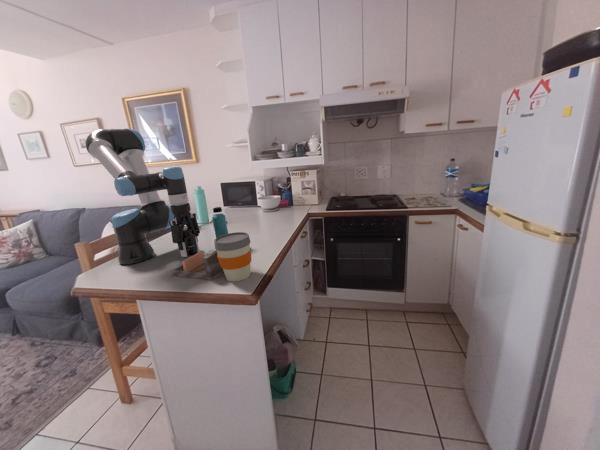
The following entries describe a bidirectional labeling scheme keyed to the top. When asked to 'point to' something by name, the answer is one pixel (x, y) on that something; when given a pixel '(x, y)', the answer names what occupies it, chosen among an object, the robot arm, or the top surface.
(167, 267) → the top surface
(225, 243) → the reusable coffee cup
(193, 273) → the grey stand
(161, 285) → the top surface
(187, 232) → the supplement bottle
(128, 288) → the top surface
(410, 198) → the top surface
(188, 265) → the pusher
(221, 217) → the beverage bottle
